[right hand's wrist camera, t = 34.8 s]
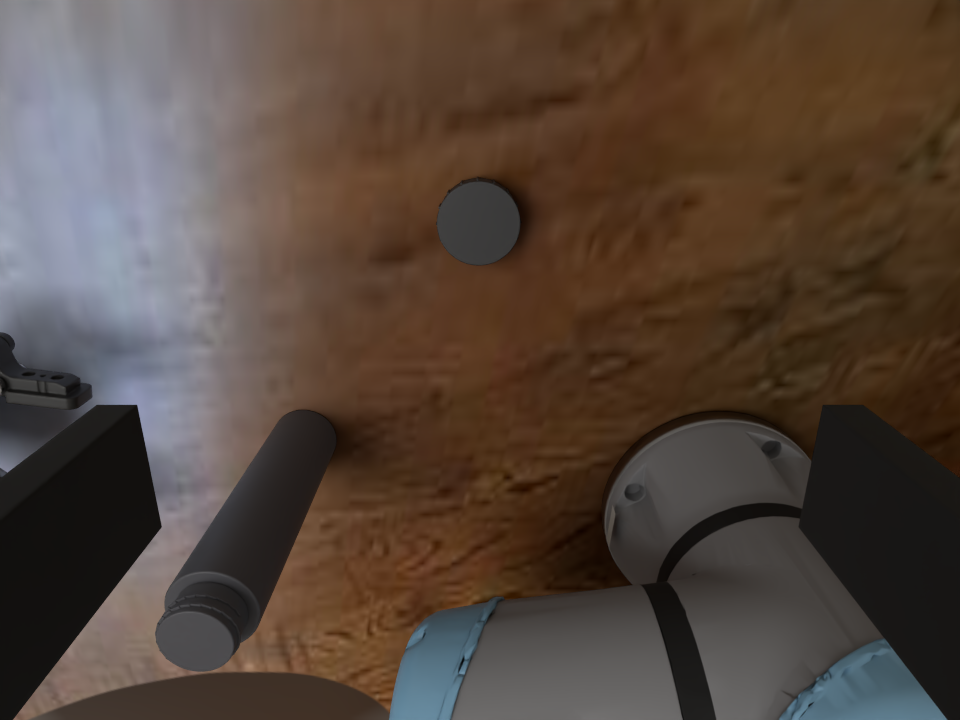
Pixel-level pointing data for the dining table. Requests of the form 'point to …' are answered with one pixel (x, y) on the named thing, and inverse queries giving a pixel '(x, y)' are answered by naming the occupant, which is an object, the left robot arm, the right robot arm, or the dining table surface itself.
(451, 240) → the lid
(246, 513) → the dark grey bottle
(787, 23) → the dining table surface
